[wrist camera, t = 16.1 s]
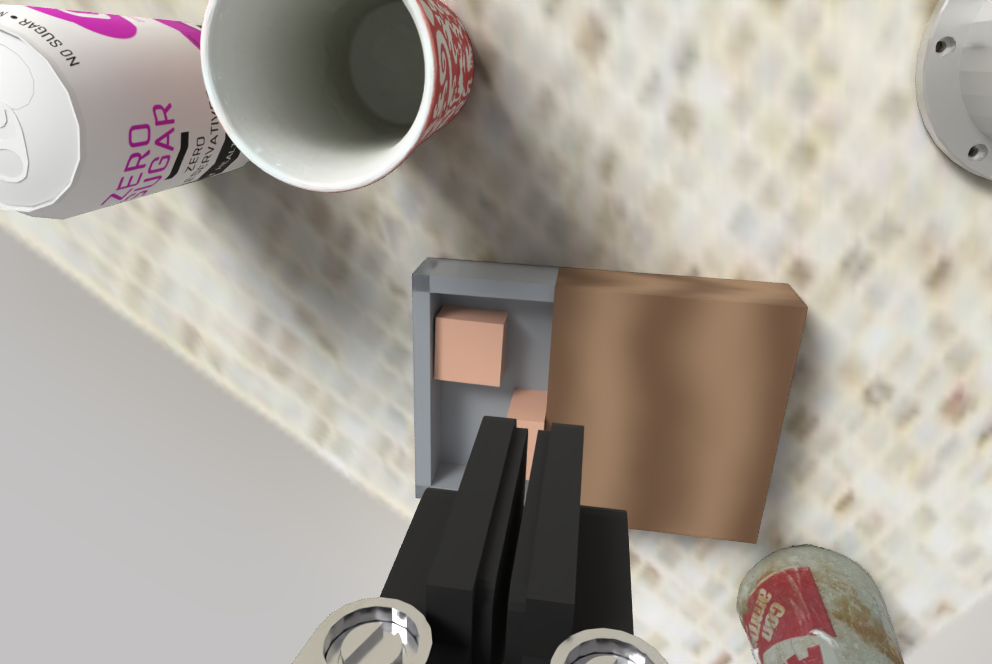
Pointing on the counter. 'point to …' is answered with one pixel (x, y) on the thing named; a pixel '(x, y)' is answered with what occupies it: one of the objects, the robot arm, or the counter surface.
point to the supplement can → (102, 111)
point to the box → (461, 406)
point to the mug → (333, 83)
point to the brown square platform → (674, 394)
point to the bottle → (815, 611)
